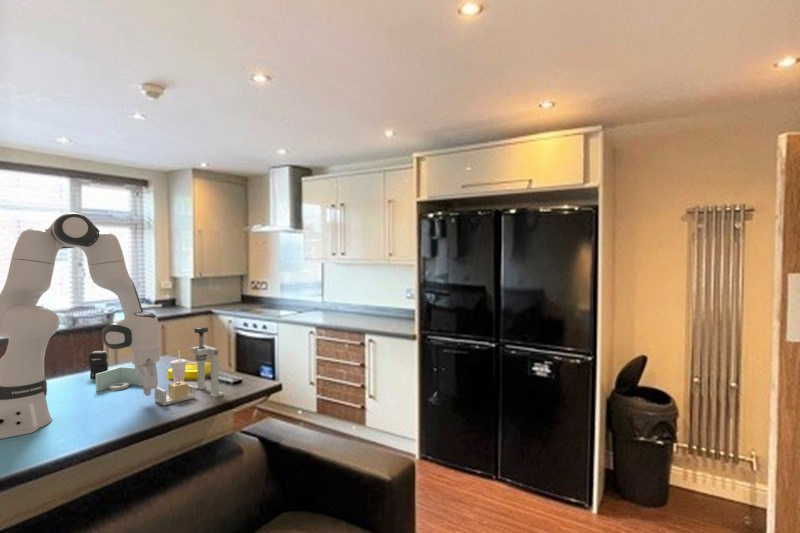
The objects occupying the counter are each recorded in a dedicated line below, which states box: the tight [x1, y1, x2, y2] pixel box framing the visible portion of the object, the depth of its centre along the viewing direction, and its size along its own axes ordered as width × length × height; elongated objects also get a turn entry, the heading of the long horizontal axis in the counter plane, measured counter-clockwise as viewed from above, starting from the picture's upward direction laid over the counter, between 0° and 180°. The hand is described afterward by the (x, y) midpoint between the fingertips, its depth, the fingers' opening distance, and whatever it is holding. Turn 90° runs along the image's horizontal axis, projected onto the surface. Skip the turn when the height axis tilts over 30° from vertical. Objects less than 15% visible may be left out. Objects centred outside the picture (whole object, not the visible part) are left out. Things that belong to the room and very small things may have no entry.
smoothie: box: [169, 350, 188, 383], centre depth 187 cm, size 6×6×14 cm
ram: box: [193, 326, 209, 362], centre depth 175 cm, size 5×5×12 cm
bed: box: [154, 383, 196, 407], centre depth 168 cm, size 12×8×5 cm, turn 140°
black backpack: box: [88, 350, 110, 379], centre depth 195 cm, size 7×4×11 cm, turn 100°
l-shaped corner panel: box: [95, 365, 143, 392], centre depth 181 cm, size 12×12×8 cm
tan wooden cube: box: [167, 381, 189, 399], centre depth 169 cm, size 5×5×5 cm
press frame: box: [190, 344, 225, 399], centre depth 176 cm, size 7×17×18 cm, turn 50°
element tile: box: [167, 361, 211, 381], centre depth 201 cm, size 15×15×5 cm
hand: (147, 394), depth 161 cm, fingers closed
